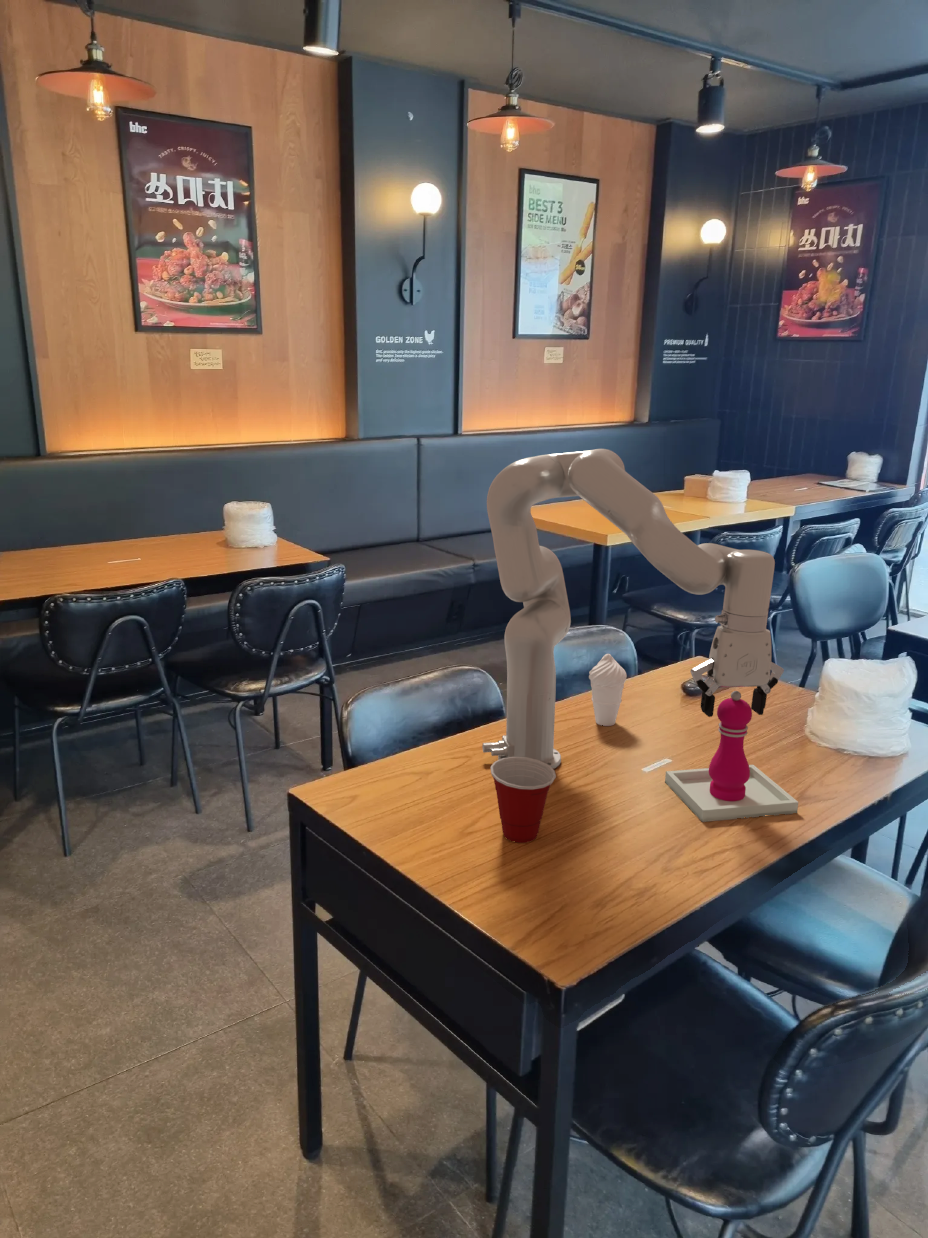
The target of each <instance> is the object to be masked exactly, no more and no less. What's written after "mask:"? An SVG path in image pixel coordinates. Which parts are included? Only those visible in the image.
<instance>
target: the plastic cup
mask: <svg viewBox="0 0 928 1238" xmlns="http://www.w3.org/2000/svg"><path fill="white" fill-rule="evenodd" d="M490 773H491V776H492V778H493V783H494V787H495V791H496V797H497V804H498V813H499V818H500V819H499V820H500V821H501V822H500V823H501V829H502V833H503V837H504V838H505V837H506V838H507V839H506V838H505V839H506V840H507V841H510V842H512V841H515V842H514V843H517V842H518V843H517V844H520V843H521V844H524V843H525V844H527V843H529V842H530V841H531V842H533V841H535V840H536V839H537V837H538V834H539V830H540V826H541V822H542V819H543V816H544V815H543V814H544V810H545V807H546V803H547V798H548V794H549V792H550V791H549V790H550V788H551V785H552V784H553V782H554V780H555V779H556V778H557V775H556V771H555V769H552V768H551V767H550V766H549V765H548V764H546V763H543V762H541V761H539V760H536V759H531V758H527V757H508V758H502V759H500V760H498V759H497V760H496V761H493V763H492V764H491V766H490ZM531 842H530V843H531Z"/></svg>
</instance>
